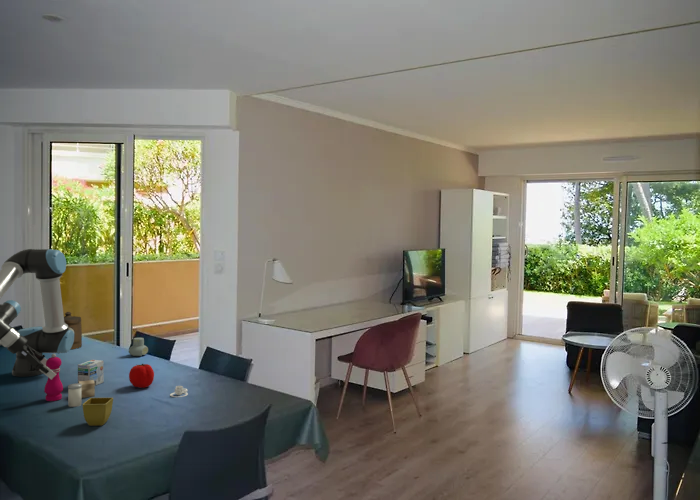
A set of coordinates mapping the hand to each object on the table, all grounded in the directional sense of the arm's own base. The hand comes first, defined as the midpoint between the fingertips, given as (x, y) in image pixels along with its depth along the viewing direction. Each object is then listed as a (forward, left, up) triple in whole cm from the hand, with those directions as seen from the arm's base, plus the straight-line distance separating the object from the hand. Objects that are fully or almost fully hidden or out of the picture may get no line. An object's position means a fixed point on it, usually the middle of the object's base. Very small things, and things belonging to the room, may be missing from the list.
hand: (53, 373), depth 243 cm
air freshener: (-84, +3, -12) cm, 85 cm away
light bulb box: (-23, +5, -12) cm, 27 cm away
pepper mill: (0, 0, -12) cm, 12 cm away
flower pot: (+28, +33, -12) cm, 44 cm away
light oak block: (-7, +11, -12) cm, 17 cm away
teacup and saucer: (-12, +54, -12) cm, 57 cm away
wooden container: (-100, -47, -12) cm, 112 cm away
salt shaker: (+7, +13, -12) cm, 18 cm away
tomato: (-22, +30, -12) cm, 39 cm away
